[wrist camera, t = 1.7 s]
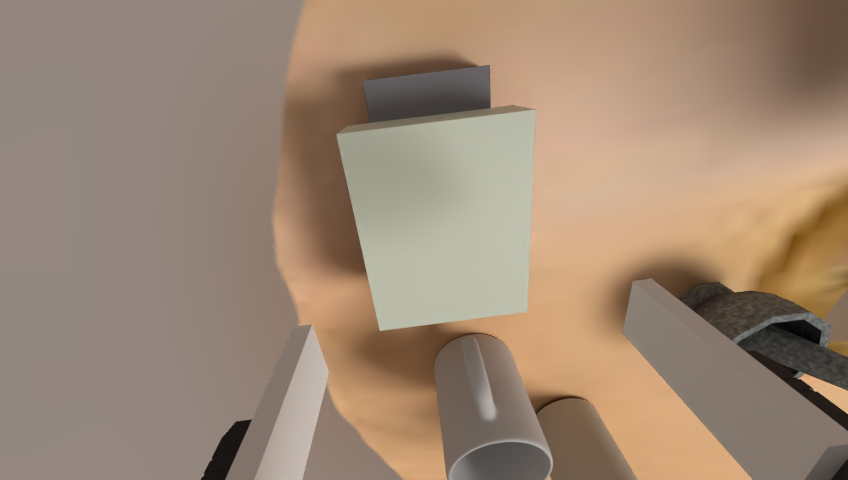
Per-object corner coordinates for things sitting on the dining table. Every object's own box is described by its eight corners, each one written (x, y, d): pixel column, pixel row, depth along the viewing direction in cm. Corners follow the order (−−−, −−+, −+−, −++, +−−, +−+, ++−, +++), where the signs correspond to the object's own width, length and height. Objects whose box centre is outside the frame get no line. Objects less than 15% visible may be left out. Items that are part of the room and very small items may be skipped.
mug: (515, 381, 36) (557, 491, 27) (442, 397, 37) (457, 511, 27) (502, 297, 31) (548, 396, 21) (417, 317, 32) (424, 423, 22)
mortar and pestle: (645, 346, 35) (751, 462, 25) (664, 274, 31) (803, 375, 20) (745, 334, 35) (896, 444, 25) (778, 261, 31) (975, 354, 21)
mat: (480, 66, 22) (489, 65, 20) (487, 291, 31) (493, 307, 28) (366, 81, 22) (362, 80, 20) (404, 301, 31) (404, 319, 28)
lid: (513, 105, 21) (535, 109, 18) (510, 282, 27) (527, 312, 24) (347, 125, 21) (336, 134, 17) (382, 298, 27) (379, 330, 24)
